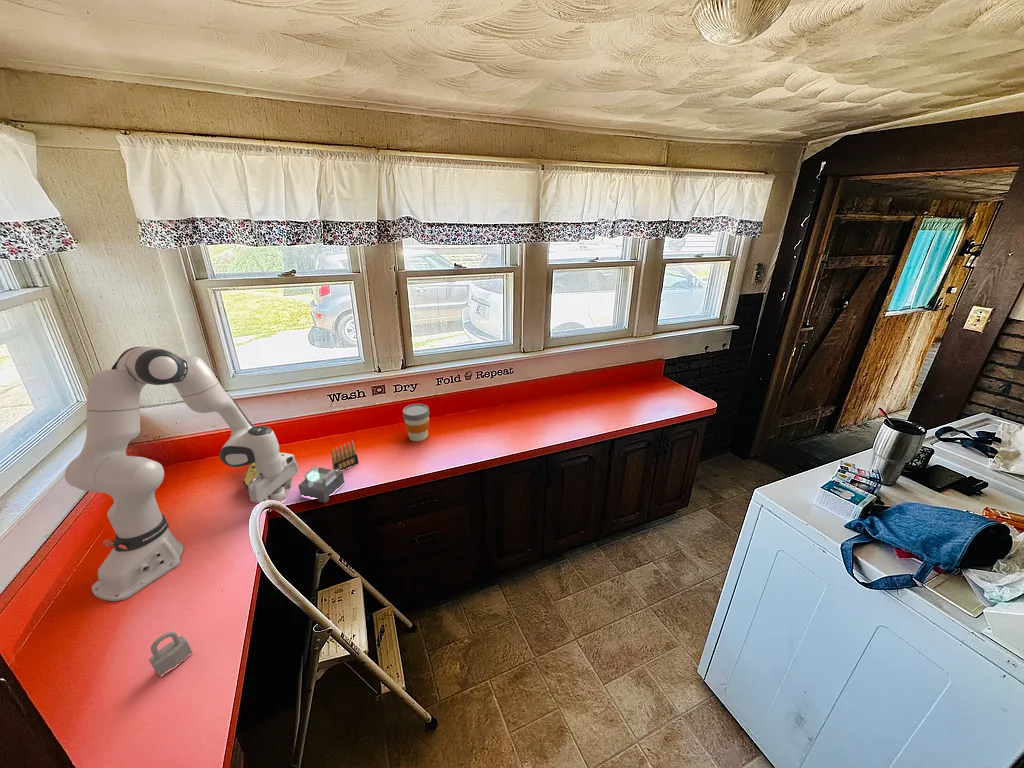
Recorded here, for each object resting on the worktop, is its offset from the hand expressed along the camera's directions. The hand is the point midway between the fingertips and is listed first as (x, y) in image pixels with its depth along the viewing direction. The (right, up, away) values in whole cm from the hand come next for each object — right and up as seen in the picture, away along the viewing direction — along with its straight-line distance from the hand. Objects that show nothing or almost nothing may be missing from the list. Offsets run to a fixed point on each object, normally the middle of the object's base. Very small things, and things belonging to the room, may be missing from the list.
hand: (279, 496), depth 158 cm
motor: (+15, +1, +8) cm, 17 cm away
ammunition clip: (+17, +7, +21) cm, 28 cm away
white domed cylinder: (0, -2, +1) cm, 2 cm away
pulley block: (-14, +5, +12) cm, 19 cm away
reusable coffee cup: (+44, +17, +45) cm, 65 cm away
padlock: (+4, -27, -54) cm, 61 cm away
